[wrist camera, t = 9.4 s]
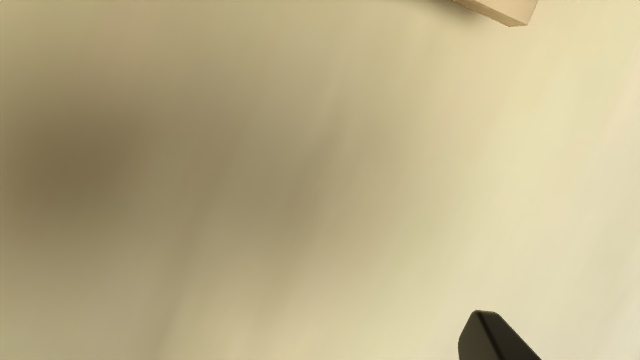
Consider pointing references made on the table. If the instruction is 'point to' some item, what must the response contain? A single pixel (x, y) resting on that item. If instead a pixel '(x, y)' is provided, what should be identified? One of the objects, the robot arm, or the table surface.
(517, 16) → the plank
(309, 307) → the table surface
